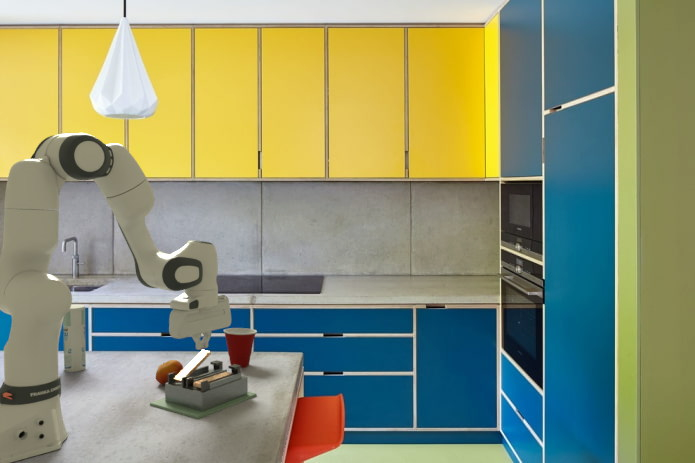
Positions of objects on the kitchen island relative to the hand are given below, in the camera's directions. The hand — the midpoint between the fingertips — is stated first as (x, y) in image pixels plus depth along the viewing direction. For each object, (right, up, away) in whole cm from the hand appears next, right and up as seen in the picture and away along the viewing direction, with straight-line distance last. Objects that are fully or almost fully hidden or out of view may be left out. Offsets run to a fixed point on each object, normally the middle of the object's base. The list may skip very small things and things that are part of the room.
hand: (202, 348), depth 178 cm
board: (+2, -14, -3) cm, 14 cm away
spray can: (-46, -12, +26) cm, 54 cm away
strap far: (-2, -5, -2) cm, 6 cm away
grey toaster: (+2, -14, -3) cm, 14 cm away
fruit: (-12, -13, +12) cm, 22 cm away
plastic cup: (+5, -12, +32) cm, 34 cm away
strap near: (+4, -8, -5) cm, 11 cm away
